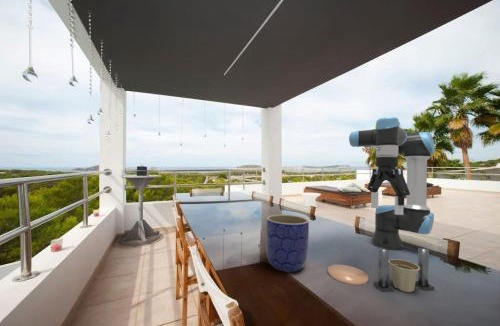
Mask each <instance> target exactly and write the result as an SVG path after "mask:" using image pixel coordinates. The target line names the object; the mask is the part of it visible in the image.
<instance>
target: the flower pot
mask: <svg viewBox="0 0 500 326" xmlns="http://www.w3.org/2000/svg"><path fill="white" fill-rule="evenodd" d="M389 266H390V269H391V275H392V282H393V286H394V288H396V289H398V290H400V291H401V292H404V293H412V292H415V287H416V286H415V282H416V281H417V277H418V270H420V267H419V266H418V264H416V263H413V262H411V261H408V260H405V259H399V258H398V259H396V258H392V259H389Z"/></svg>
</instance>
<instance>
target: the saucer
mask: <svg viewBox="0 0 500 326" xmlns="http://www.w3.org/2000/svg"><path fill="white" fill-rule="evenodd" d="M327 275H328V276H329V277H330V278H332V279H333V280H335V281H337V282H339V283H343V284H346V285H351V286H364V285H365V284H367V283H369V275H368V274H367V273H366V272H365V271H363V270H361V269H359V268H357V267H355V266H352V265H351V266H350V265H346V264H332V265H330V266H328V268H327Z"/></svg>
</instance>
